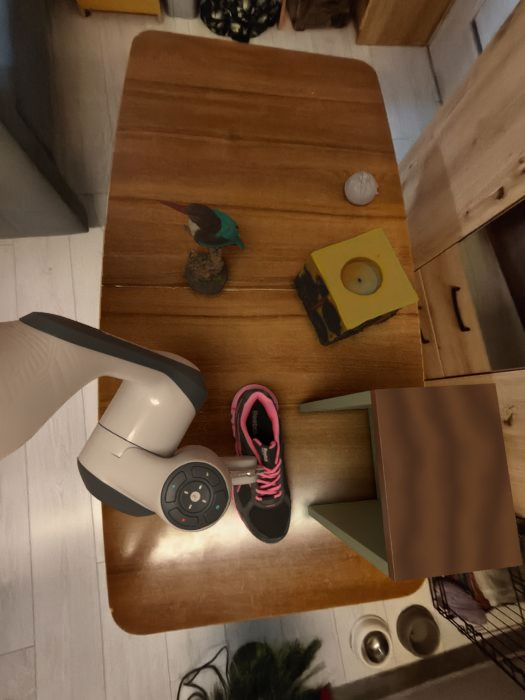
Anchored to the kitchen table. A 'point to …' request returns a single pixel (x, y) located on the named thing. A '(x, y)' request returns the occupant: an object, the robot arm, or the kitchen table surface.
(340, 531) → the dark grey angular piece
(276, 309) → the kitchen table surface
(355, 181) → the garlic bulb
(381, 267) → the candle
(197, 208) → the sculpture
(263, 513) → the running shoe
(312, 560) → the kitchen table surface
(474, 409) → the board
